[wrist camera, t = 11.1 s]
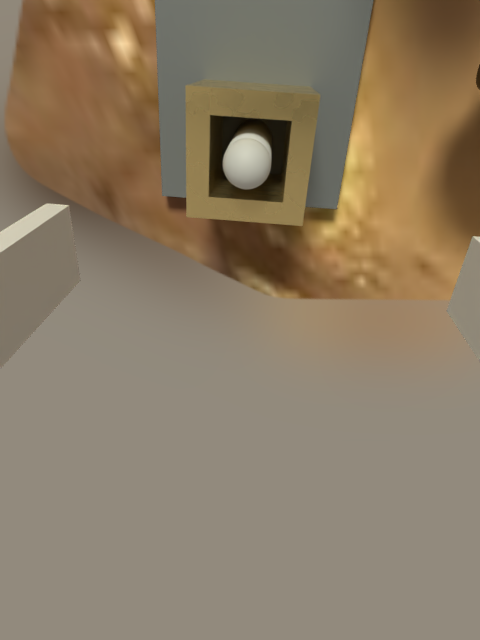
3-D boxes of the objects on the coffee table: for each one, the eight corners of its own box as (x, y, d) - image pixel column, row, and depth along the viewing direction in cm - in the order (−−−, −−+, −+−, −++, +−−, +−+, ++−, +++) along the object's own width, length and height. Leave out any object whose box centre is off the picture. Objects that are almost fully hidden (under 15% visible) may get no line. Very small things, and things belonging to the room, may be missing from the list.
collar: (310, 86, 32) (320, 94, 25) (297, 194, 36) (302, 225, 30) (204, 79, 32) (185, 85, 26) (202, 187, 37) (186, 216, 30)
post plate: (395, -150, 27) (470, -279, 16) (334, 204, 38) (356, 258, 28) (154, -163, 27) (81, -296, 17) (165, 191, 39) (126, 239, 28)
